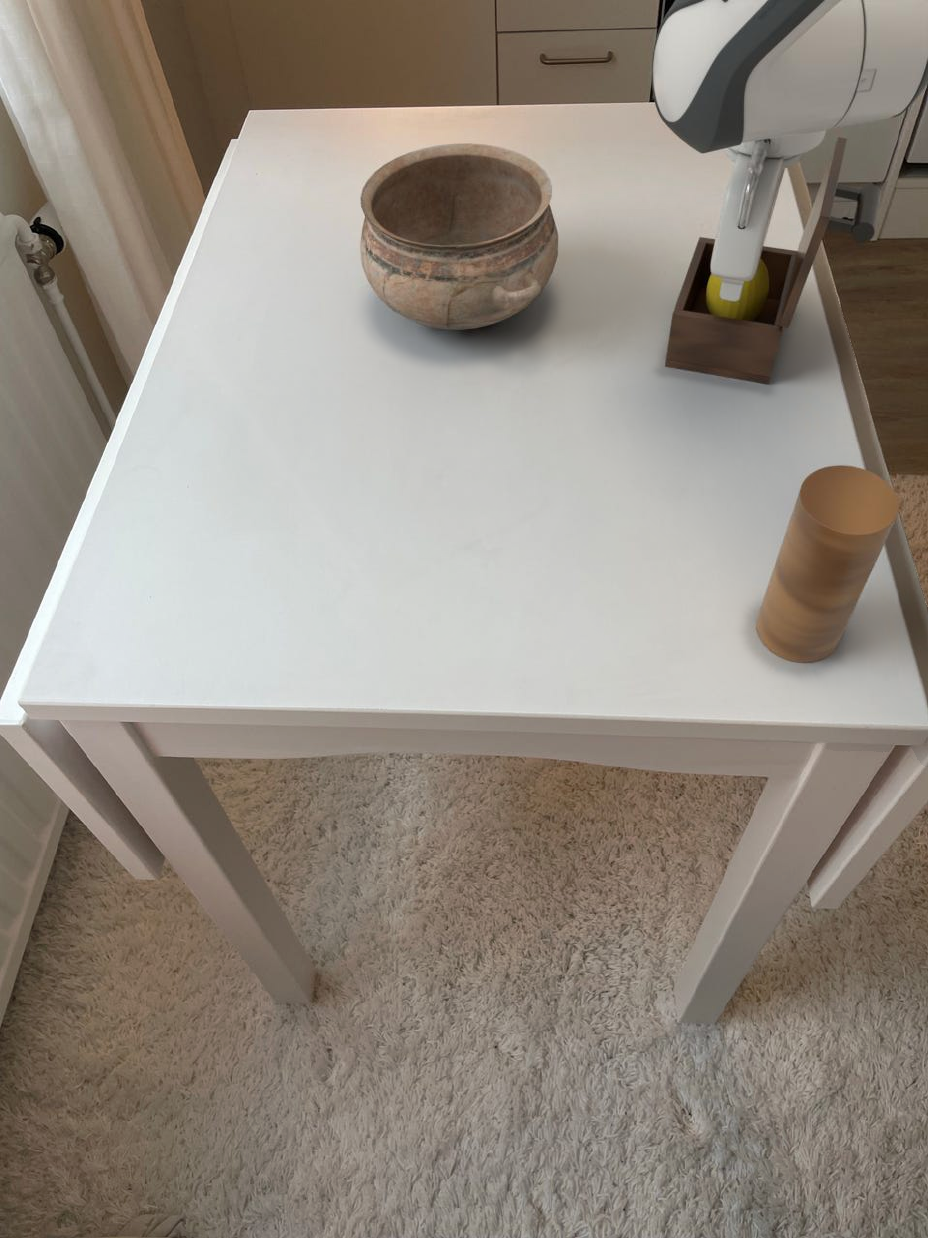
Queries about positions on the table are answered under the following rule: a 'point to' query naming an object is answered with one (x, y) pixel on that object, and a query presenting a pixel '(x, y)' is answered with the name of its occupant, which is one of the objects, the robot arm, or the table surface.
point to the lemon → (748, 302)
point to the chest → (728, 322)
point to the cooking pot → (458, 234)
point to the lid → (830, 224)
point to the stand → (825, 561)
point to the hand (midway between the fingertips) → (739, 265)
